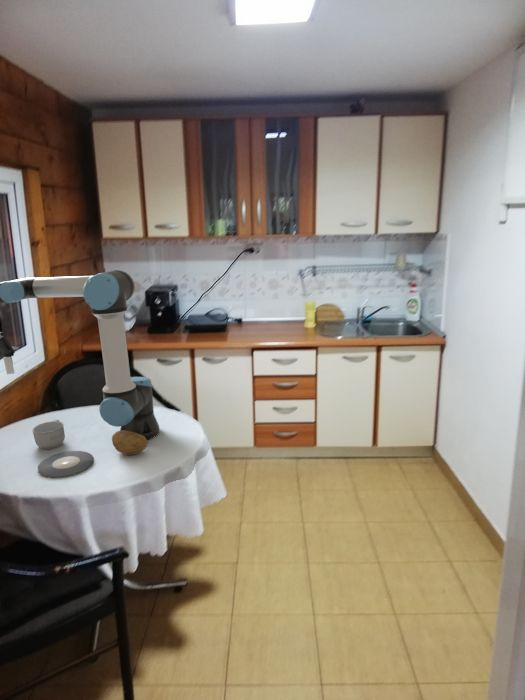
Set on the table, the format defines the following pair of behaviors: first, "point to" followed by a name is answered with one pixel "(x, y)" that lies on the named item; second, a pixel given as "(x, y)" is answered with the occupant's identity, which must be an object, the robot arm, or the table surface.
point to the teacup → (49, 434)
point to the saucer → (65, 464)
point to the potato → (129, 442)
